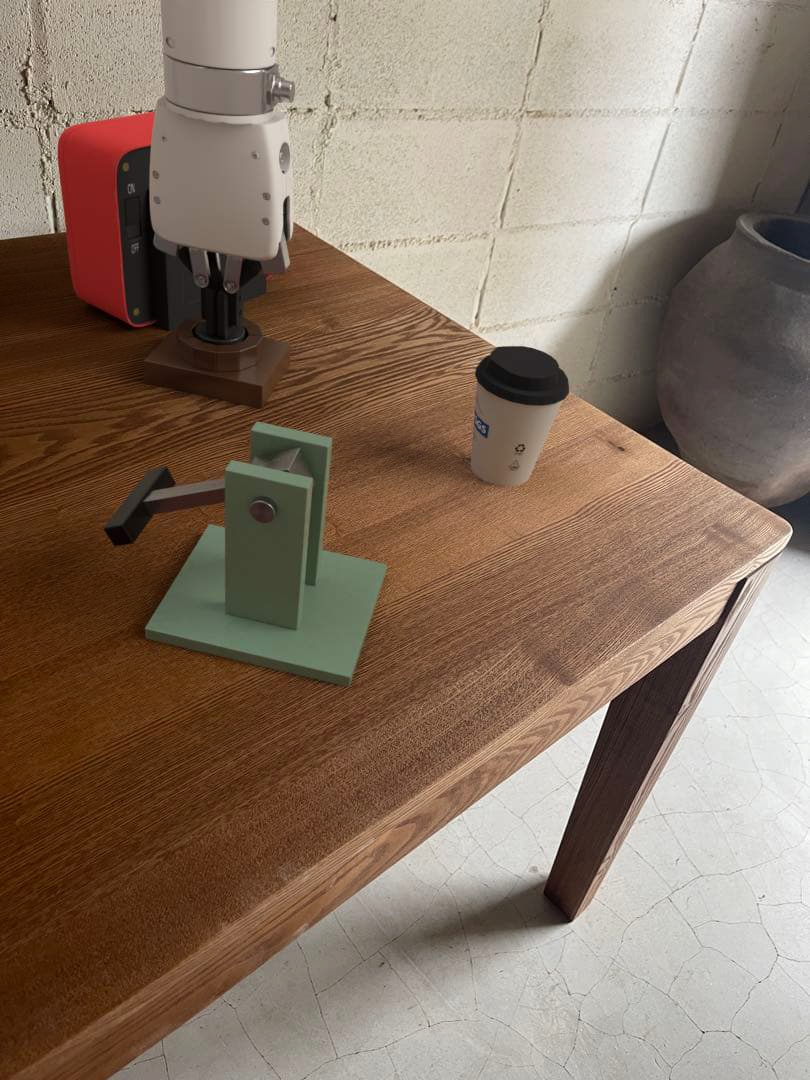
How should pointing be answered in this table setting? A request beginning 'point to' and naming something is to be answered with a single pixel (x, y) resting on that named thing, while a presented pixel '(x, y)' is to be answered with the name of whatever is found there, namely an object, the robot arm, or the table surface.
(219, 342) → the button
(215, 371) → the button box
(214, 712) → the table surface
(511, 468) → the coffee cup
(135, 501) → the lever
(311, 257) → the table surface
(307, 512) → the bracket
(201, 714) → the table surface
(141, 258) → the alarm clock
